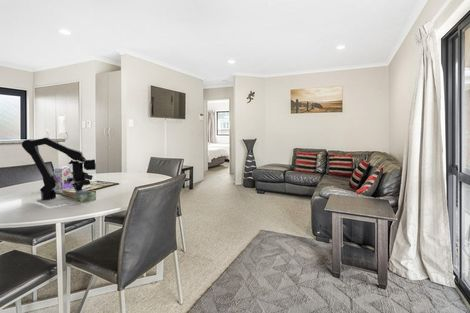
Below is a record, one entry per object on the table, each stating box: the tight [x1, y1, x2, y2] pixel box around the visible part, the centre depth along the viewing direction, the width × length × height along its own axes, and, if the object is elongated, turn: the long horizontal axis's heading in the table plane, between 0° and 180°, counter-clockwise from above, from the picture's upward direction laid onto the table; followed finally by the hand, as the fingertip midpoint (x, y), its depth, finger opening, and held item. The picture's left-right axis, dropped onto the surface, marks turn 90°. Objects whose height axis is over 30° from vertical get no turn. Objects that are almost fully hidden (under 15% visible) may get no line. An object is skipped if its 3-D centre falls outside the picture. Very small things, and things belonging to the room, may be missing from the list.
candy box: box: [52, 165, 74, 191], centre depth 189 cm, size 14×6×16 cm, turn 179°
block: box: [75, 189, 88, 195], centre depth 163 cm, size 5×5×4 cm
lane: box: [61, 189, 97, 203], centre depth 167 cm, size 15×25×4 cm, turn 56°
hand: (79, 194), depth 165 cm, fingers closed
